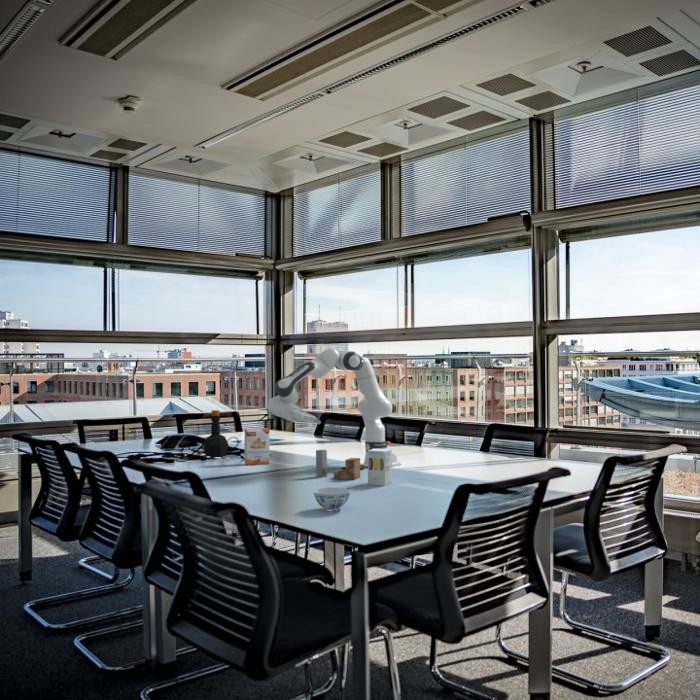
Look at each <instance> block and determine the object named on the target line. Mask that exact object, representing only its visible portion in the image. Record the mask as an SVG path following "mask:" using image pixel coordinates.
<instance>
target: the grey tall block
mask: <svg viewBox="0 0 700 700" xmlns="http://www.w3.org/2000/svg"><path fill="white" fill-rule="evenodd" d="M327 451H328V450H327V449H316V450H315V473H316V474H315V478H319V477H324V478H327V477H328V457H327V456H328V453H327Z"/></svg>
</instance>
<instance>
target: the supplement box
mask: <svg viewBox="0 0 700 700" xmlns="http://www.w3.org/2000/svg"><path fill="white" fill-rule="evenodd" d="M392 451H393V450H392V449H390V448H389V449H376V448H375V449H371V450H368V467H367V485H368V484H372V485H371V486H380V485H384V486H383V487H386V486H388V485H390V484H392V483H393V475H392V469H393V466H392ZM385 485H386V486H385Z"/></svg>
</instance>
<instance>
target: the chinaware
mask: <svg viewBox="0 0 700 700" xmlns="http://www.w3.org/2000/svg"><path fill="white" fill-rule="evenodd" d="M313 495H314V498H315V501H316V502H317V503H318V505H319V506H321V508H323V511H325V510H339V509H340V510H341V508H342V507H344V505H345V504H347V502H348V500H349V497H350V495H351V490H350V489H349V488H344V487H321V488H316V489H314V490H313ZM340 510H339V511H340Z"/></svg>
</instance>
